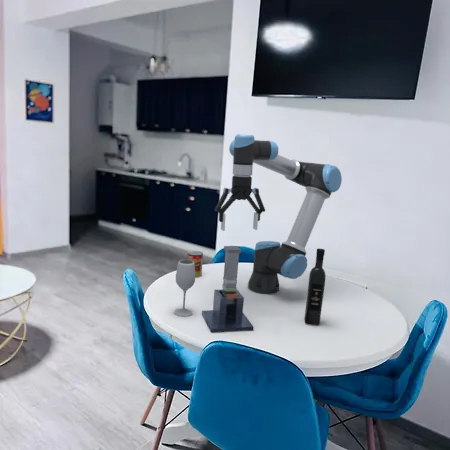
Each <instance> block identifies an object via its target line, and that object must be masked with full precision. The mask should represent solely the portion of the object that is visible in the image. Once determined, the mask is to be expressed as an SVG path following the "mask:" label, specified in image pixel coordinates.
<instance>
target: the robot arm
mask: <svg viewBox="0 0 450 450" xmlns="http://www.w3.org/2000/svg"><path fill="white" fill-rule="evenodd" d="M229 153H230V155H231V156H232V157H233V160H232V161H233V162H232V175H233V176H232V178H231V188H227V187H223V192H222V194H221V196H220V198H219V200H218V202H217V204H216V206H215V207H214V211H215V212H216V213H218V221H219V222H220V231H223V232H224V231H226V230H225V229H226V216H227V215H226V213H225V212H226V211H227V210H228V209H229V207H230V206H232V204H233V203H234V202H235V201H236V200H237V201H246V200H247V202H248V203H249V204H250V205H251V207H252V208H253V210H254V211H255V212H253V221H252V229H253V230H255V231H257V230H258V226H259V225H258V223H259V222H260V220H261V214H262V213H264V212H266V207H265V205H264V204H263V201H262V198H261V195H260V190H259V188H257V187H254V188H252V182H253V181H252V180H253V178H252V176H253V168H254V167H253V166H254V164H255V165H258V166H261V167H262V168H265V169H268V170H270V171H273V172H275V173H277V174H280V175H282V176H284V177H285V179H286V180H289V181H291V182H293V183H295V184H297V185H299V186H302V187H305V188H304V189H305V191H306V195H305V196H304V199H303V202H302V204H301V206H300V209H299V211H298V213H297V215H296V218H295V220H294V223H293V225H292V227H291V230H290V233H289V235H288V237H287V239H286V241H283V242H282V243H280V242H279V241H273V240H272V241H271V240H263V241H258V242H256V243H255V248H254V251H253V253H254V254H253V267H252V268H253V269H252V273H251V275H250V277H249V280H248V283H247V288H248V290H250V291H251V292H253V293H254V292H255V293H258V294H261V295H262V294H264V295H273V294H276V293H278V292H279V291H280V287H281V285H280V281H279V277H278V276H282V277H284V278H288V279H290V280H295V279H298V278H300V277H301V276H302V275H303V274H304V273H305V271H306V270H307V267H308V259H307V257H306V256H307V251H306V246H307V244H308V242H309V239H310V236H311V234H312V232H313V230H314V227H315V224H316V222H317V220H318V217H319V215H320V212H321V210H322V208H323V205H324V203H325V201H326V200H327V199H330V197H331V195H332V194H333V193H336V192H337V191H339V189H340V188H341V186H342V181H343V179H342V173H341V171H340V169H339V168H338V167H337V166H336V165H332V164H329V163H328V164H327V163H326V164H324V163H317V162H316V163H315V162H314V163H313V162H305V161H299V160H297V159H289V158H286V157H285V156H282V155H280V154H279V146H278V144H277V142H275V141H272V140H257V139H255V135H253V134H240V133H239V134H236V135H235V136H234V139H233V140H232V141H231V142H230V144H229ZM229 194H231V195H230V197H229V199H228V200H227V198H228V195H229ZM251 194H253V195H254V198H255V200H256V201H254V200H253V198H252V197H251ZM226 200H227V201H226ZM225 201H226V202H225ZM256 203H257V204H256Z"/></svg>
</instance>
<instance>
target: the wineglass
mask: <svg viewBox="0 0 450 450" xmlns="http://www.w3.org/2000/svg"><path fill="white" fill-rule="evenodd" d="M175 272H176V273H175V283H176V284H177V286H178V288H179V289H181V290H182V291H183V292H182V293H183V297H182V298H183V300H182V308H177V309H175V310H174V311H173V313H174V315H175V316H177V317H190V316H192V315H193V311H192V310H191V309H189V308H186V306H185V305H186V293H187V291H188V290H189V289H191V288H192V287H193V286H194V284H195V281H196V278H195V265H194V261H192V260H187V259H179V261H178V263H177V267H176V271H175Z"/></svg>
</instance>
